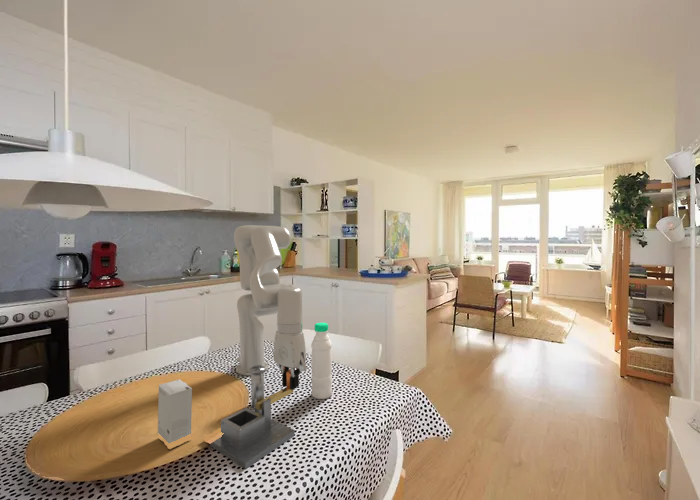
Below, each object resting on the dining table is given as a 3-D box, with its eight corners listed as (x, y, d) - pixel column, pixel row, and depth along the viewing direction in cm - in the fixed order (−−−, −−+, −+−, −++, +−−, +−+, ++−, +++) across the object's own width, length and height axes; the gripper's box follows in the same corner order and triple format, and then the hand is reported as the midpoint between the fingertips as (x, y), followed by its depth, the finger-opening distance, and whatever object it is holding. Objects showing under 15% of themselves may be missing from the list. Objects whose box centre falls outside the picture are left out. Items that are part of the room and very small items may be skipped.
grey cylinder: (246, 405, 105) (246, 369, 105) (259, 399, 109) (258, 364, 109) (256, 410, 102) (256, 372, 102) (268, 403, 106) (268, 367, 106)
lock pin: (254, 408, 90) (254, 384, 90) (290, 389, 101) (290, 368, 101) (260, 411, 89) (260, 387, 88) (296, 391, 100) (296, 370, 100)
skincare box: (157, 438, 87) (155, 385, 87) (180, 428, 92) (179, 377, 92) (169, 452, 82) (168, 394, 82) (193, 440, 87) (192, 386, 86)
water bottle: (329, 401, 108) (328, 326, 107) (308, 399, 109) (308, 325, 108) (334, 391, 115) (333, 321, 114) (315, 389, 116) (314, 320, 115)
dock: (203, 441, 86) (202, 408, 86) (253, 415, 99) (252, 386, 99) (245, 469, 76) (244, 431, 75) (294, 435, 89) (294, 403, 88)
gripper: (263, 326, 101) (263, 384, 101) (300, 335, 91) (300, 399, 92) (281, 321, 107) (281, 376, 107) (317, 329, 97) (318, 389, 98)
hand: (290, 386), depth 100 cm, fingers closed on lock pin, 2 cm apart
